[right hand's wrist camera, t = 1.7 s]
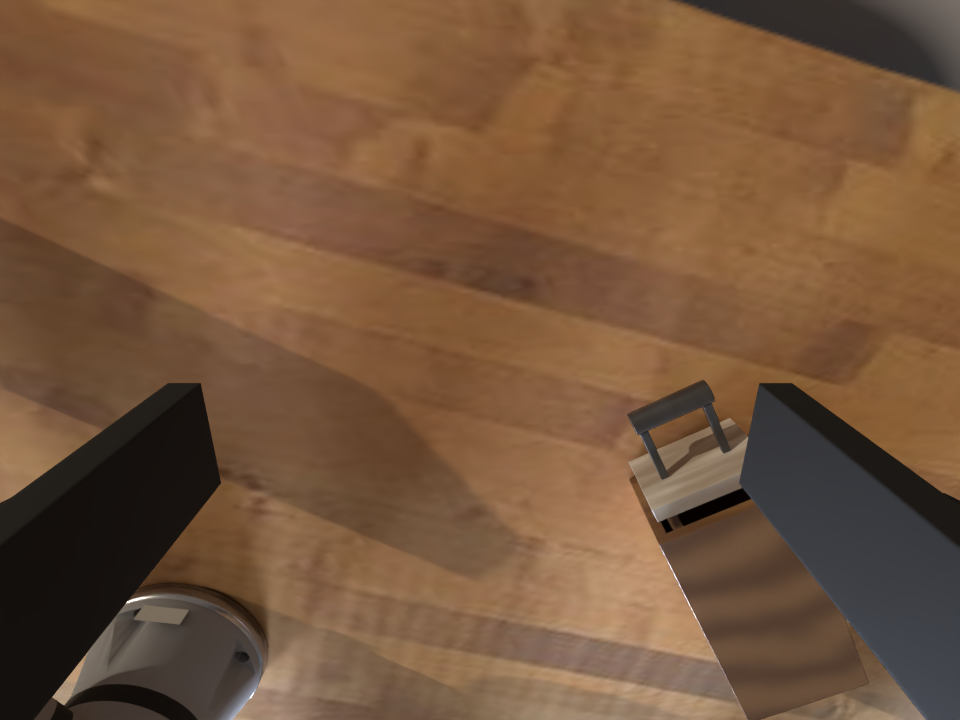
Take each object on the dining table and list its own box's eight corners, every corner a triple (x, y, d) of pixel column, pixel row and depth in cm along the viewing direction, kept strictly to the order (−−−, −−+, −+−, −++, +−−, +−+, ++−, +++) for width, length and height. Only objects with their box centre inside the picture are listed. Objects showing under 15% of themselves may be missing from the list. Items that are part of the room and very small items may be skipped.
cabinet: (628, 478, 45) (659, 545, 37) (741, 430, 43) (796, 489, 35) (709, 639, 51) (749, 723, 43) (809, 602, 49) (869, 684, 42)
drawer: (598, 402, 41) (618, 444, 35) (704, 354, 40) (743, 388, 34) (707, 621, 49) (738, 685, 43) (798, 587, 48) (844, 649, 42)
